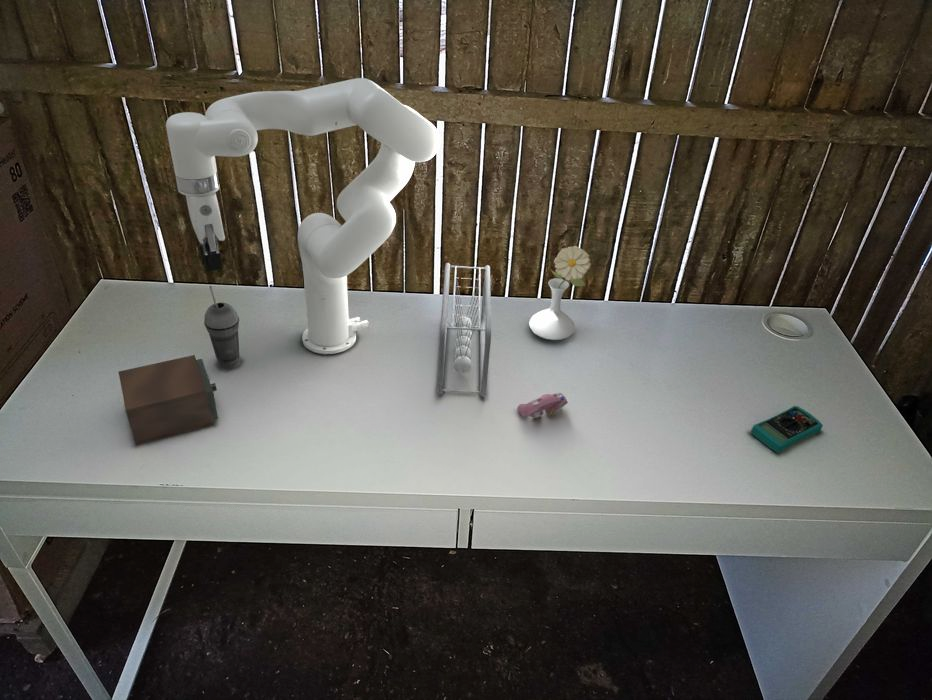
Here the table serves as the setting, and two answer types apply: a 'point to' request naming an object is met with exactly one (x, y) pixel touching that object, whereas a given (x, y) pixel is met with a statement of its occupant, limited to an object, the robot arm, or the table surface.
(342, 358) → the table surface
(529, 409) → the pink toy car
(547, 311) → the flower in vase
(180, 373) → the cabinet
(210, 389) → the drawer
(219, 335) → the beverage cup
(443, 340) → the newton's cradle
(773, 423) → the digital multimeter
